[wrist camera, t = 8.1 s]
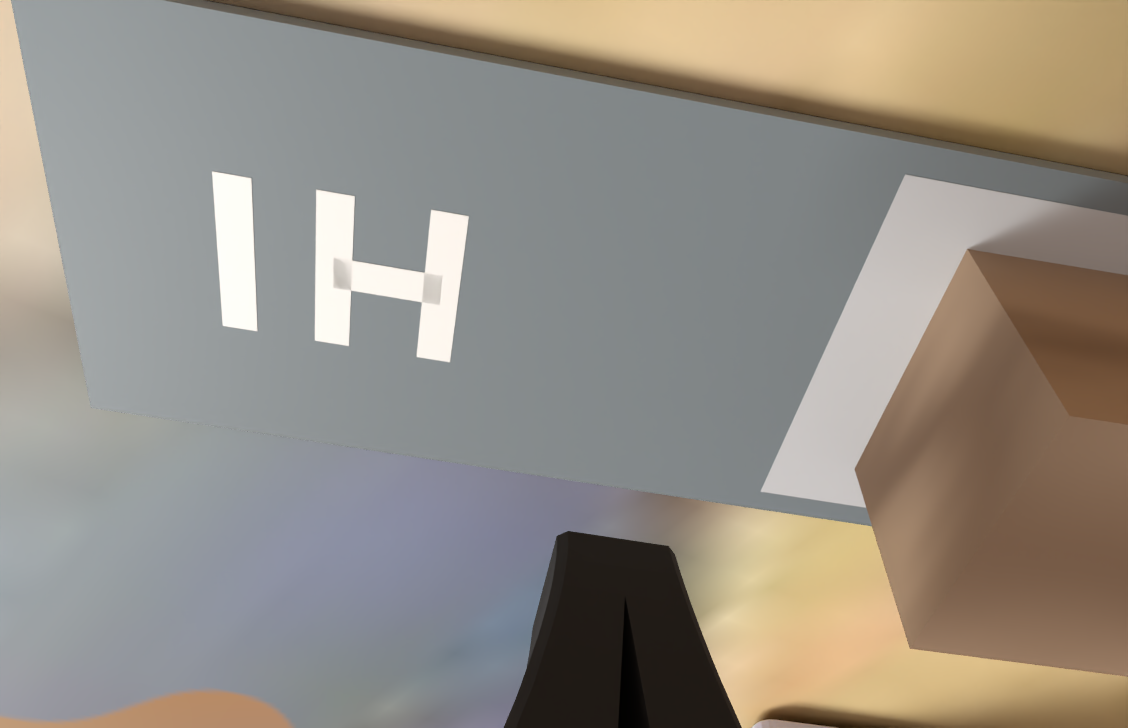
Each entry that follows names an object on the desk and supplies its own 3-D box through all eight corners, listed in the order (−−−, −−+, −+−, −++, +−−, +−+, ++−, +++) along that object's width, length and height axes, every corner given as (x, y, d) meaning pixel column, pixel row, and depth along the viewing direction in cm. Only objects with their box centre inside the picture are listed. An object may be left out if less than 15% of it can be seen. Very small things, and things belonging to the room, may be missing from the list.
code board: (1115, 552, 19) (1122, 564, 19) (97, 397, 17) (90, 408, 17) (1396, 226, 14) (1410, 237, 14) (16, -36, 12) (4, -30, 12)
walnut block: (1098, 504, 18) (1204, 686, 15) (854, 469, 17) (910, 648, 14) (1259, 296, 15) (1438, 471, 12) (967, 248, 14) (1070, 415, 11)
